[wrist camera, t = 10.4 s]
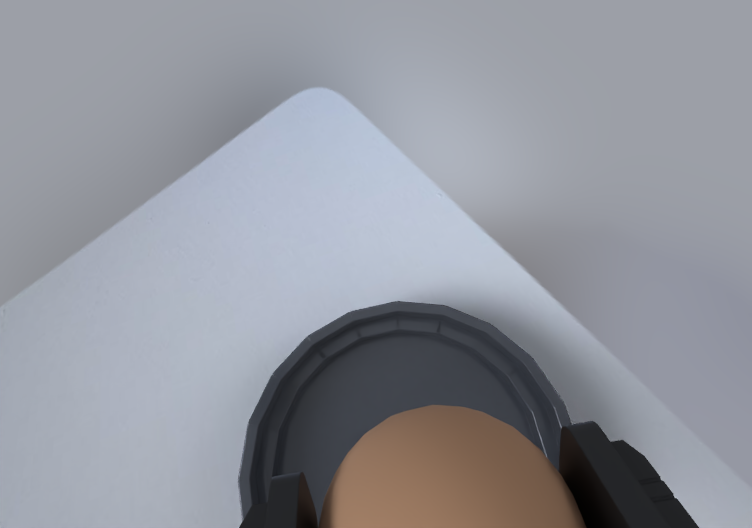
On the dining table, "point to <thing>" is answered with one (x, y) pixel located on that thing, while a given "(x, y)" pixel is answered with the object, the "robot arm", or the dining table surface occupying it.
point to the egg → (447, 476)
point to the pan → (388, 390)
